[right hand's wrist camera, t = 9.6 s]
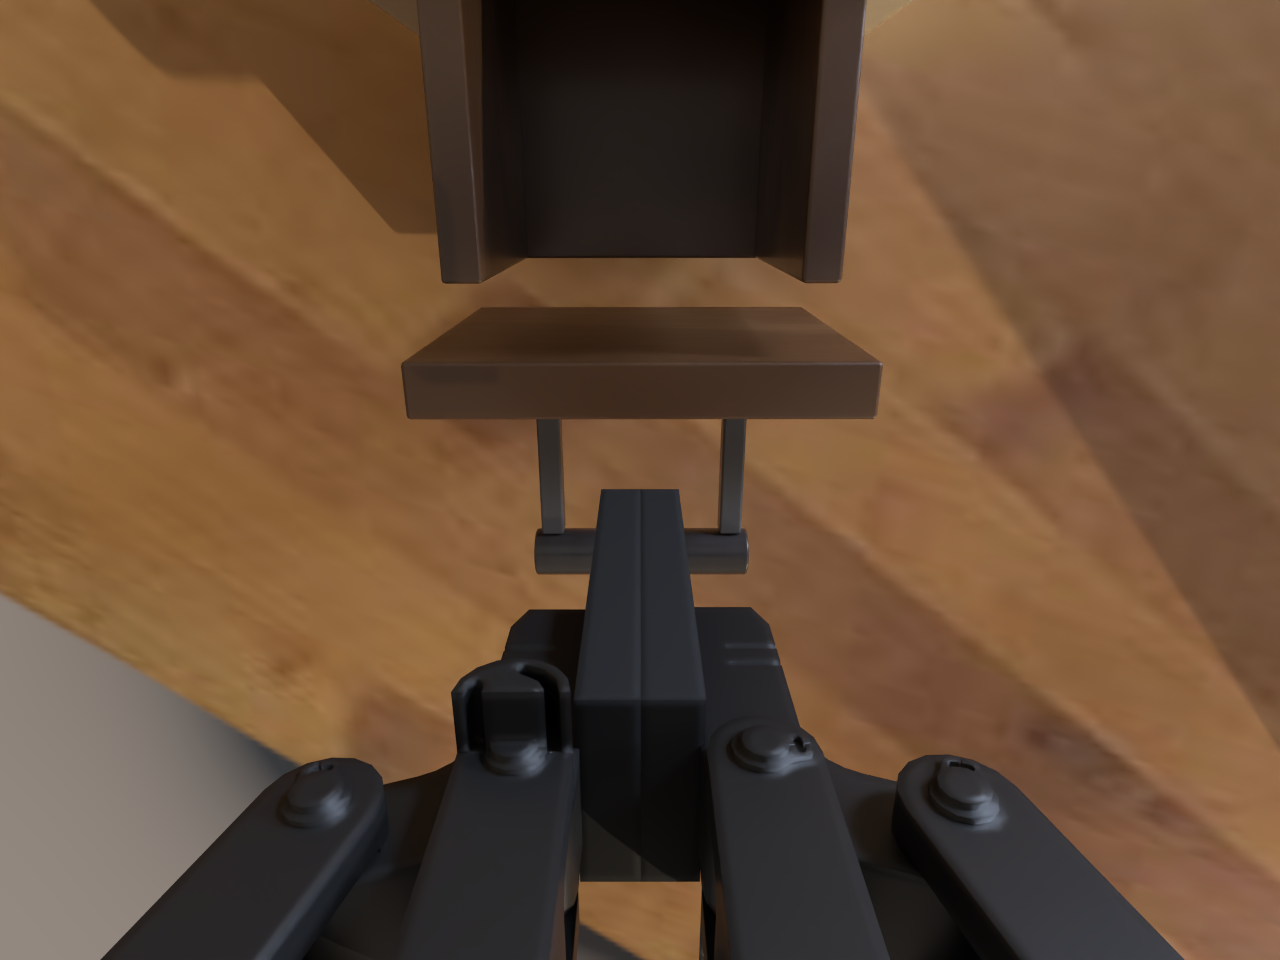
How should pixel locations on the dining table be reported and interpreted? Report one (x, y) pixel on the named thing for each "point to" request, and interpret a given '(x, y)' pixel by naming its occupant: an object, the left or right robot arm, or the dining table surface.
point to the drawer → (641, 220)
